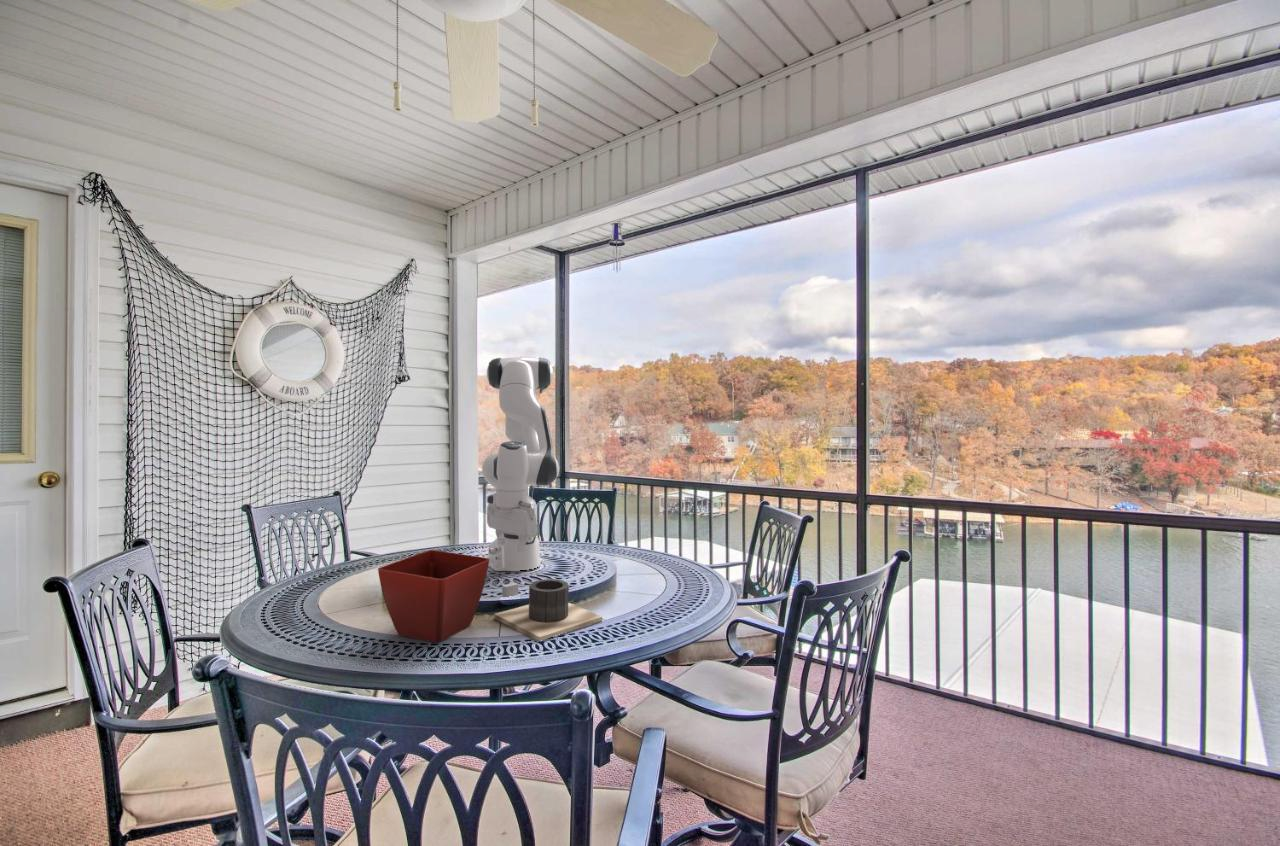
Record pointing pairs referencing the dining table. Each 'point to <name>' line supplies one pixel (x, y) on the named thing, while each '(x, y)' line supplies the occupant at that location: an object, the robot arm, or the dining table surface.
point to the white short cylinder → (509, 590)
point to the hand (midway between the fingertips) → (510, 548)
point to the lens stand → (547, 612)
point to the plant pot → (433, 593)
